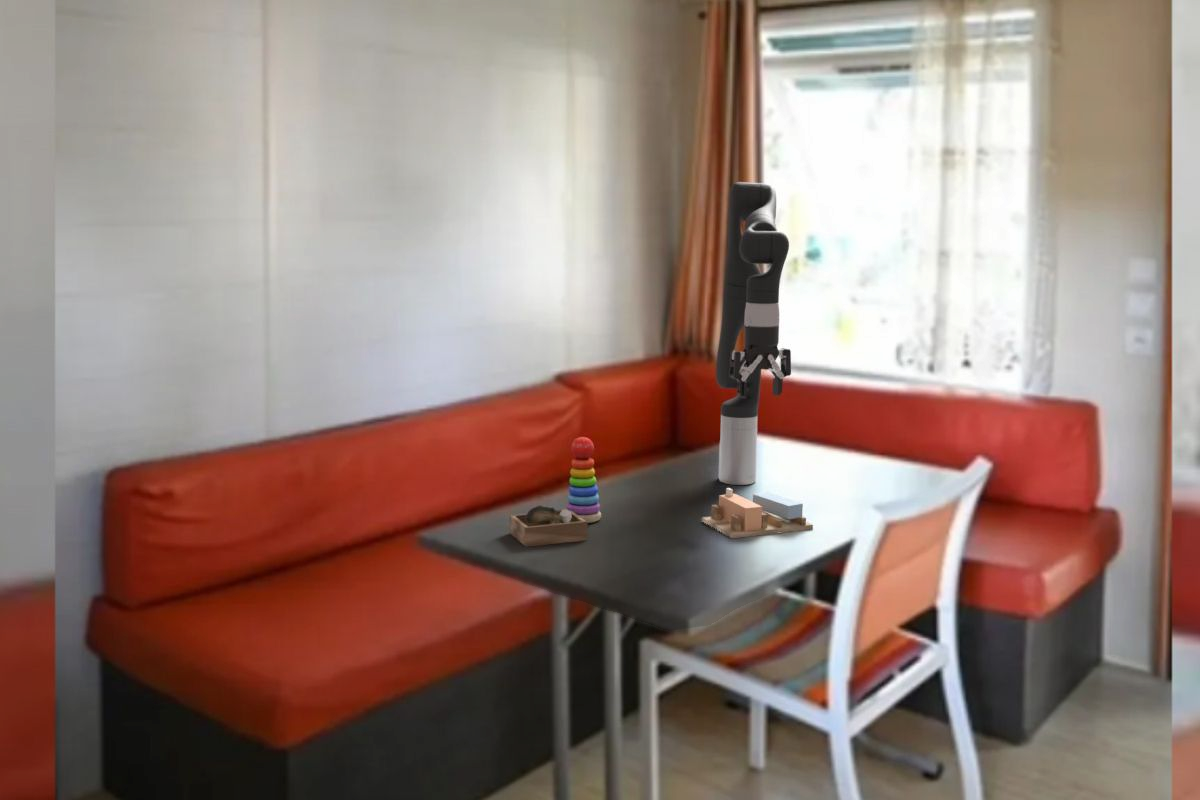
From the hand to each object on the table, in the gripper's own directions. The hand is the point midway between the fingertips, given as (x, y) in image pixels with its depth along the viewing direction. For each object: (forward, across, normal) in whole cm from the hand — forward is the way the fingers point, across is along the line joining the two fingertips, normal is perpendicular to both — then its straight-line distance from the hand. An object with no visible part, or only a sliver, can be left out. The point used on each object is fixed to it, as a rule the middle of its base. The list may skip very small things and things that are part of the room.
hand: (759, 396), depth 263 cm
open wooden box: (+28, +48, -4) cm, 56 cm away
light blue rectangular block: (+26, -3, +4) cm, 26 cm away
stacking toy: (+28, +36, -14) cm, 48 cm away
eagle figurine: (+28, +48, -4) cm, 55 cm away
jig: (+28, +2, +4) cm, 28 cm away
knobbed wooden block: (+27, +6, +4) cm, 28 cm away
